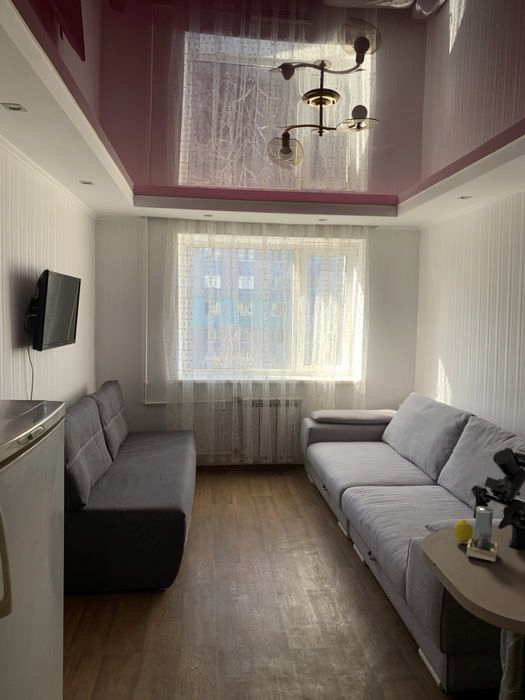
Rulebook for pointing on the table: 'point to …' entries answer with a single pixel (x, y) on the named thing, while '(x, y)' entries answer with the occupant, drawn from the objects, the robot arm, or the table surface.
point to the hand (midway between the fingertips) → (486, 523)
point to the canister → (483, 528)
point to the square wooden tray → (481, 551)
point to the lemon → (463, 531)
